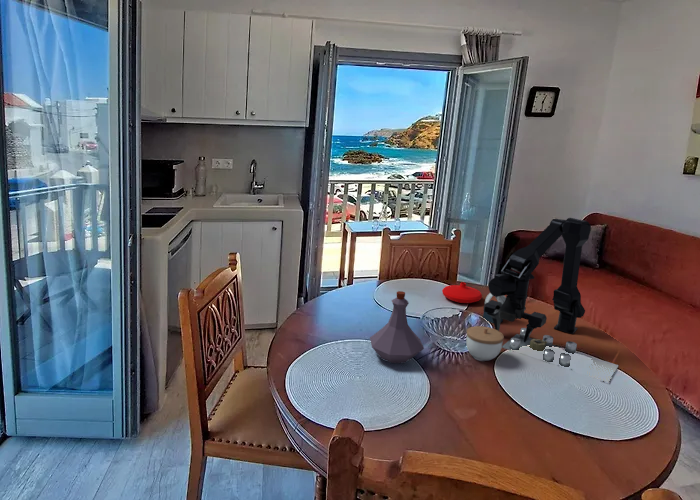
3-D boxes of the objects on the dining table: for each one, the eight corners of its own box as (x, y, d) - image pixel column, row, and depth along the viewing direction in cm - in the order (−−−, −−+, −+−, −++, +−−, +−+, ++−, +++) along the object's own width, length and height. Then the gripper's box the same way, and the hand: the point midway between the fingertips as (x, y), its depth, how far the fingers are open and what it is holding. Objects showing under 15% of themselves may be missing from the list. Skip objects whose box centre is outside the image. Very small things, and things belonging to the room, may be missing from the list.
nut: (532, 344, 157) (534, 337, 156) (546, 348, 155) (547, 341, 154) (527, 349, 153) (529, 341, 153) (541, 353, 151) (542, 346, 150)
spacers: (521, 335, 164) (522, 327, 163) (579, 353, 153) (581, 344, 152) (505, 348, 153) (507, 339, 152) (567, 368, 142) (569, 359, 141)
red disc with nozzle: (441, 304, 189) (443, 287, 188) (441, 291, 204) (442, 275, 203) (483, 309, 187) (485, 291, 185) (479, 295, 202) (481, 279, 200)
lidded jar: (480, 368, 140) (484, 338, 138) (456, 352, 150) (460, 323, 147) (508, 361, 145) (512, 332, 143) (483, 346, 154) (487, 319, 152)
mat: (516, 335, 165) (516, 333, 165) (618, 366, 146) (618, 365, 146) (500, 348, 154) (501, 347, 154) (608, 383, 136) (608, 382, 136)
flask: (427, 350, 150) (434, 288, 144) (416, 374, 134) (423, 307, 129) (376, 340, 155) (381, 280, 149) (360, 362, 139) (364, 296, 134)
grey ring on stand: (506, 322, 175) (511, 293, 172) (488, 325, 172) (493, 295, 169) (496, 316, 180) (500, 288, 177) (478, 319, 177) (482, 290, 174)
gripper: (479, 290, 154) (473, 336, 158) (538, 306, 143) (531, 355, 147) (493, 283, 163) (487, 326, 167) (550, 297, 152) (542, 343, 156)
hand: (510, 337), depth 159 cm, fingers open, 9 cm apart
